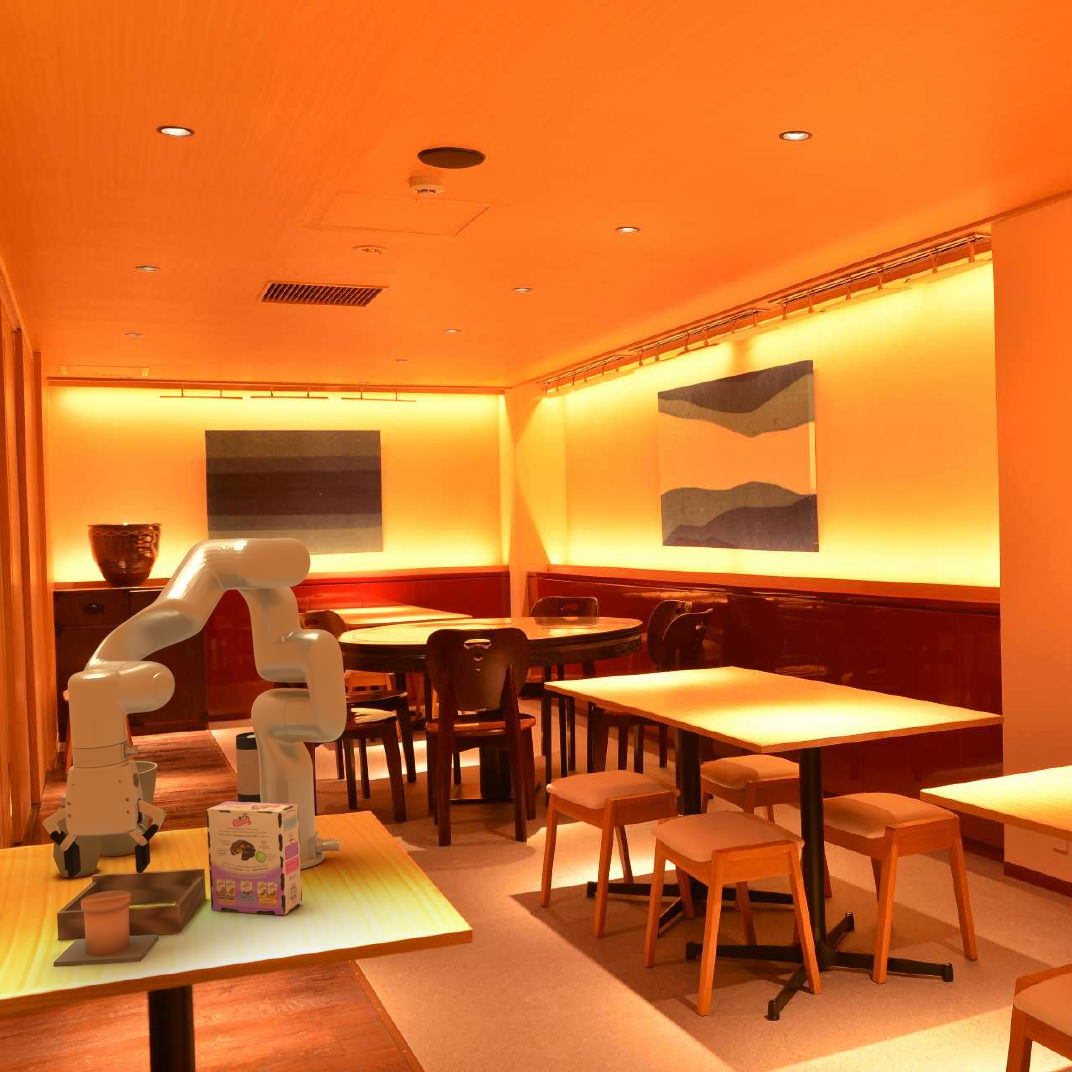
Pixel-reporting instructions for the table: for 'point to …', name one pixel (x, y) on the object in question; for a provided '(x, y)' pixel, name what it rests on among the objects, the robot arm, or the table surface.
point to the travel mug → (247, 768)
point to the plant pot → (125, 842)
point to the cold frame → (142, 901)
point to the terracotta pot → (106, 922)
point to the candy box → (254, 857)
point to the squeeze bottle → (86, 845)
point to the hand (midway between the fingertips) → (108, 872)
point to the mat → (132, 954)
